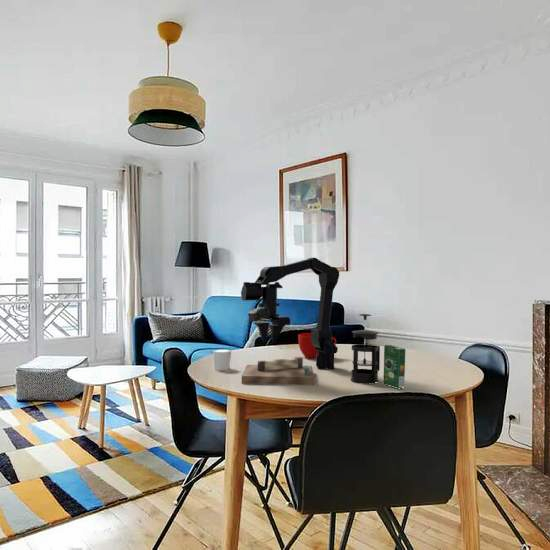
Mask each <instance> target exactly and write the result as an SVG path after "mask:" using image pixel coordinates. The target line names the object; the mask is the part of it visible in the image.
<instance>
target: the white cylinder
mask: <svg viewBox="0 0 550 550" xmlns="http://www.w3.org/2000/svg"><path fill="white" fill-rule="evenodd" d="M212 352H213V353H212V354H213V367H214V370H215V371H228V369H229V370H230V367H231V366H230V365H231V356H232V350H229V349H215V350H213V351H212Z"/></svg>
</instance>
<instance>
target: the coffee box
mask: <svg viewBox="0 0 550 550" xmlns="http://www.w3.org/2000/svg"><path fill="white" fill-rule="evenodd" d="M383 346H384V347H383V383H384V384H383V385H385V384H388V385H391V386H394V387H397V388H402V387H404V388H405V372H406V348H403V347H399V346H395V345H392V344H385V345H383ZM388 385H387V386H388ZM391 386H390V387H391ZM394 387H393V388H394Z"/></svg>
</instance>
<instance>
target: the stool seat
mask: <svg viewBox="0 0 550 550" xmlns="http://www.w3.org/2000/svg"><path fill="white" fill-rule="evenodd" d="M241 384H246V385H247V384H249V385H252V384H253V385H258V384H259V385H290V386H292V385H295V386H297V385H298V386H300V385H301V386H315V374H314V370H313V367H312V365H308V364H307V365H304V364H303V367H300V368H287V369H276V370H266V371H258V364H247V365H246V366H245V368H244V371H243V373H242V375H241Z"/></svg>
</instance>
